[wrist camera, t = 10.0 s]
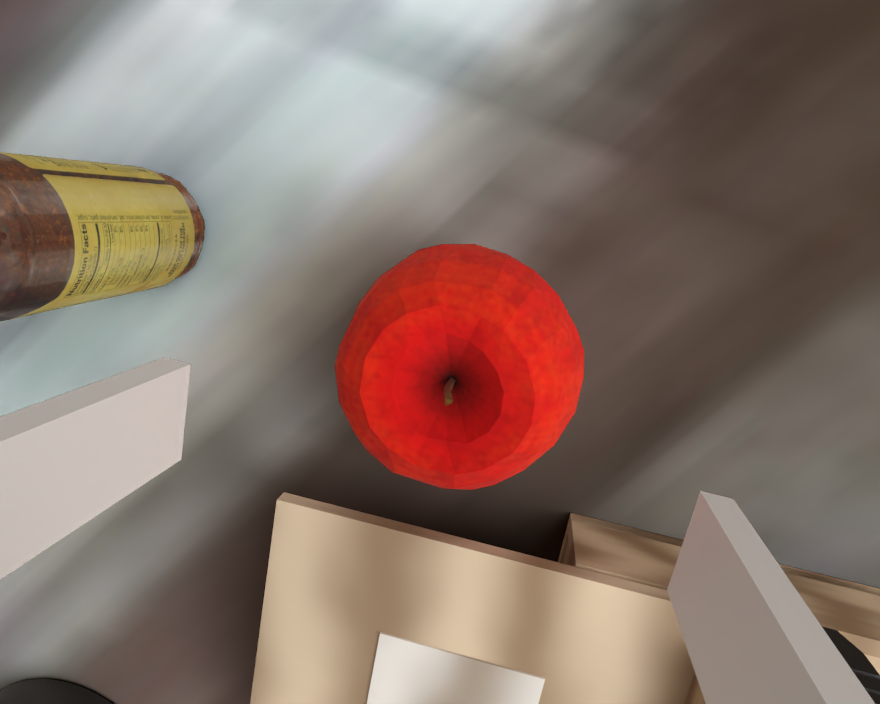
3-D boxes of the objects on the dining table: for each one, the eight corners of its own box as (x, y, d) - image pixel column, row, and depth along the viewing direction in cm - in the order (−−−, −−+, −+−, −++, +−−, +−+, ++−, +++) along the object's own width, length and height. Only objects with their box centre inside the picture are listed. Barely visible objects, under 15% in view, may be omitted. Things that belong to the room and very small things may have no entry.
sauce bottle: (88, 231, 33) (-517, 243, 14) (149, 144, 32) (-442, 25, 13) (173, 312, 34) (-310, 431, 14) (239, 230, 32) (-210, 241, 13)
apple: (420, 446, 33) (355, 571, 21) (355, 277, 32) (246, 311, 20) (598, 393, 31) (634, 498, 19) (536, 209, 29) (534, 200, 18)
